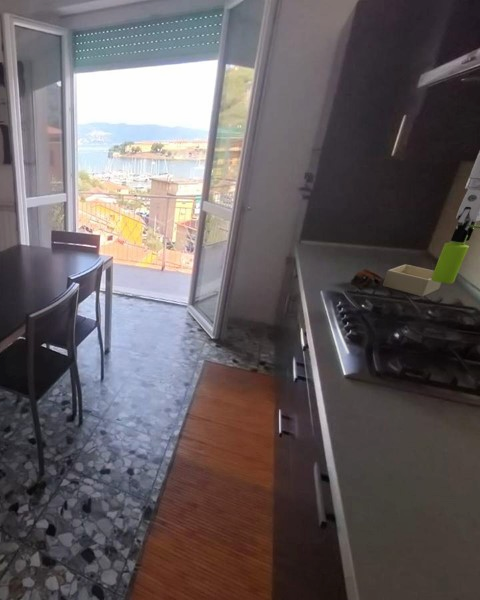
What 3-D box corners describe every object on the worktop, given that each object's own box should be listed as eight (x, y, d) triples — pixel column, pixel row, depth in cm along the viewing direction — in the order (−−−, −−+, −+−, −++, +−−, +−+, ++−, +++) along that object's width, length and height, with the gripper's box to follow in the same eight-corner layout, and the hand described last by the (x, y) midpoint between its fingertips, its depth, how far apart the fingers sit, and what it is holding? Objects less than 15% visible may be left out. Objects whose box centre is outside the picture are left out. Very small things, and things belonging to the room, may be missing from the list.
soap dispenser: (460, 284, 122) (485, 227, 114) (434, 282, 125) (457, 225, 117) (453, 279, 127) (476, 223, 119) (428, 276, 130) (449, 222, 122)
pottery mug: (345, 281, 158) (359, 266, 155) (365, 294, 155) (380, 278, 153) (353, 284, 147) (369, 267, 144) (375, 297, 144) (391, 281, 142)
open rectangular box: (438, 289, 148) (445, 273, 145) (422, 296, 141) (429, 280, 138) (399, 279, 159) (405, 264, 156) (382, 285, 152) (387, 270, 149)
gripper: (490, 187, 106) (465, 246, 114) (509, 183, 114) (484, 239, 121) (456, 185, 112) (434, 242, 120) (476, 181, 120) (454, 235, 127)
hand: (459, 240), depth 120 cm, fingers closed on soap dispenser, 3 cm apart
